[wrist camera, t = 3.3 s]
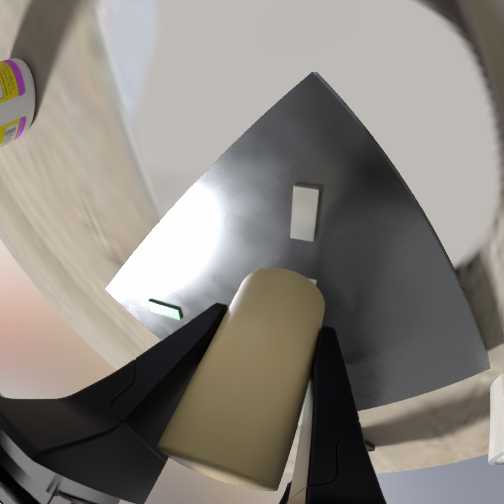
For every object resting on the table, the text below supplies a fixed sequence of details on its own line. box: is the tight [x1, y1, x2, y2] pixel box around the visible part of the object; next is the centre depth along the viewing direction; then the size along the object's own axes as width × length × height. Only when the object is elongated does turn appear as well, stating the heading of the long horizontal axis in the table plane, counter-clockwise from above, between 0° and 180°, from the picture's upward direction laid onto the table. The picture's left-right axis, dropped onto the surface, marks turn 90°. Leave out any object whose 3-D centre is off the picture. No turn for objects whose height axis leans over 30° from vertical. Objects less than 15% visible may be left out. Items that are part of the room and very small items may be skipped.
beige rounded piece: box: [156, 268, 325, 491], centre depth 11 cm, size 12×7×8 cm, turn 2°
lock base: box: [106, 72, 490, 411], centre depth 17 cm, size 20×20×3 cm
